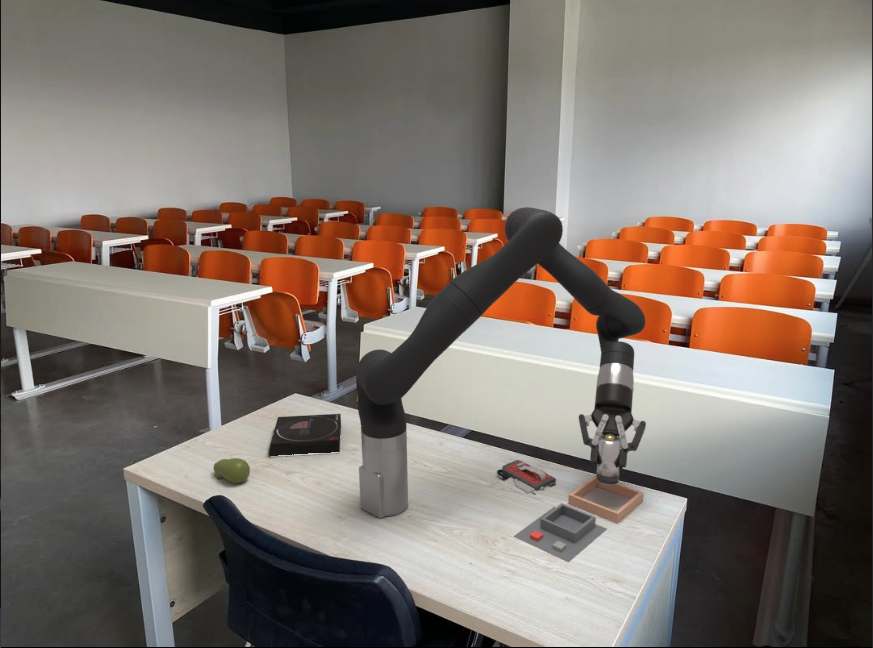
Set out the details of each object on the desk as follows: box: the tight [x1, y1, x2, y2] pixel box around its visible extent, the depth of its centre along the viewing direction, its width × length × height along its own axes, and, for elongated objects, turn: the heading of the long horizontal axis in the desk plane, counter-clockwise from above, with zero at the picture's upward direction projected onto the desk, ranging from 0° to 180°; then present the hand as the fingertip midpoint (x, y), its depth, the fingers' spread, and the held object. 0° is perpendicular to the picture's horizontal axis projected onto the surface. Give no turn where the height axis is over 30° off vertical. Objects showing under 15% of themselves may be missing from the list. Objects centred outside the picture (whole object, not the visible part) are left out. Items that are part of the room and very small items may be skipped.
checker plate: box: [512, 503, 608, 563], centre depth 126 cm, size 14×12×4 cm
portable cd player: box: [268, 413, 342, 457], centre depth 169 cm, size 16×17×4 cm
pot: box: [567, 474, 644, 524], centre depth 136 cm, size 11×11×4 cm
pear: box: [213, 457, 251, 484], centre depth 150 cm, size 6×5×10 cm
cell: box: [595, 434, 621, 486], centre depth 134 cm, size 4×4×10 cm
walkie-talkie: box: [496, 459, 557, 496], centre depth 144 cm, size 9×4×20 cm
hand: (608, 466), depth 132 cm, fingers closed on cell, 4 cm apart
